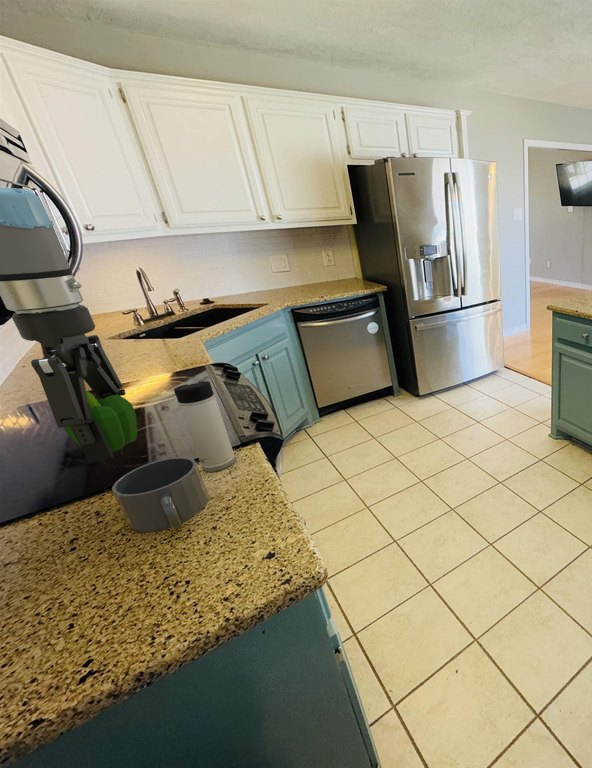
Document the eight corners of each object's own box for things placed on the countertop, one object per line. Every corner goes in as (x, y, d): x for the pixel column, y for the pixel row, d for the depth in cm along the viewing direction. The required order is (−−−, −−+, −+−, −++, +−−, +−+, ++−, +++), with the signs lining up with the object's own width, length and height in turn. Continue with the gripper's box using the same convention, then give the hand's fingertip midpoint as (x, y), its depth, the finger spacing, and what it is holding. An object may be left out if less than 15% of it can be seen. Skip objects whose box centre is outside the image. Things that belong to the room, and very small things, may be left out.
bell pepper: (153, 442, 68) (131, 387, 64) (86, 466, 61) (56, 407, 58) (136, 429, 72) (114, 377, 68) (72, 450, 66) (44, 393, 62)
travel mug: (203, 476, 88) (171, 392, 80) (202, 462, 93) (172, 381, 85) (237, 466, 91) (209, 384, 83) (234, 453, 96) (209, 375, 88)
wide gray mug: (126, 511, 78) (109, 476, 75) (201, 482, 86) (188, 450, 83) (136, 554, 68) (117, 516, 64) (220, 517, 76) (207, 482, 72)
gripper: (44, 320, 50) (116, 473, 59) (112, 293, 68) (160, 414, 77) (-42, 328, 47) (47, 487, 56) (52, 298, 65) (109, 423, 74)
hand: (112, 445), depth 67 cm, fingers closed on bell pepper, 8 cm apart
